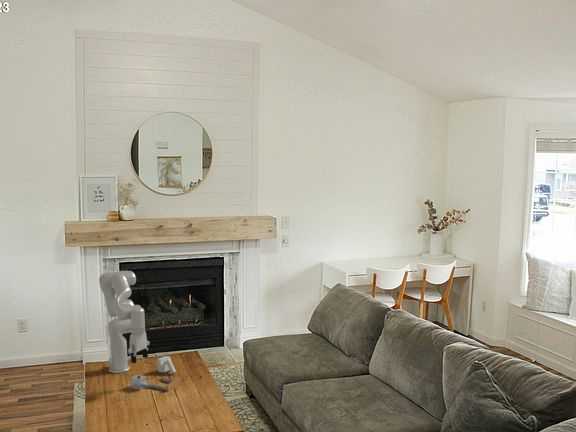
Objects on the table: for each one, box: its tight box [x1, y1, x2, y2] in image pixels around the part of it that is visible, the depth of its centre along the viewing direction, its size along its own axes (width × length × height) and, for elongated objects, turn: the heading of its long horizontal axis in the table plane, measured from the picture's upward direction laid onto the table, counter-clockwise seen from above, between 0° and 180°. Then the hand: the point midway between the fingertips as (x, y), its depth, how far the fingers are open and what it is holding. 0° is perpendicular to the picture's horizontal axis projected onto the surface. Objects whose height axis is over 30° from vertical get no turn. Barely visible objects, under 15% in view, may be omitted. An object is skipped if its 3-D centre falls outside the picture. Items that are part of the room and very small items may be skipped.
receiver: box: [145, 376, 182, 393], centre depth 322 cm, size 15×14×4 cm
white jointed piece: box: [156, 355, 177, 375], centre depth 341 cm, size 8×10×10 cm
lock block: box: [130, 374, 148, 391], centre depth 319 cm, size 7×6×7 cm
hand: (139, 360), depth 319 cm, fingers open, 9 cm apart
